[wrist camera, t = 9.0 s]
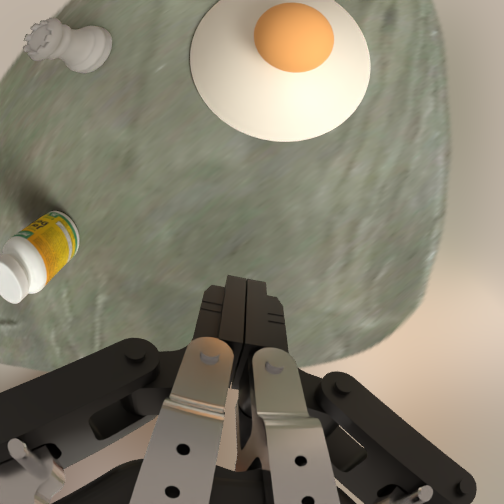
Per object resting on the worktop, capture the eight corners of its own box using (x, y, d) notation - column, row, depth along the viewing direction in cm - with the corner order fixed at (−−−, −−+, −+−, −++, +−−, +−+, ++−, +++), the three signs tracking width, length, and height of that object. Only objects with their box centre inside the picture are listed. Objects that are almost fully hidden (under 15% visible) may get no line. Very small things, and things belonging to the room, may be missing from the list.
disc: (174, 122, 21) (173, 123, 21) (214, -28, 15) (214, -29, 14) (346, 161, 22) (347, 162, 22) (382, 14, 16) (383, 14, 16)
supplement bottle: (57, 262, 27) (7, 315, 18) (35, 219, 24) (-23, 263, 16) (89, 248, 26) (37, 305, 17) (66, 201, 23) (2, 244, 15)
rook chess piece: (64, 65, 18) (5, 60, 10) (89, 22, 16) (35, 3, 9) (97, 81, 19) (39, 76, 12) (124, 36, 17) (73, 13, 10)
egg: (255, 37, 18) (248, 82, 18) (259, -14, 13) (251, 24, 12) (322, 47, 19) (325, 93, 18) (338, -1, 13) (347, 40, 12)
